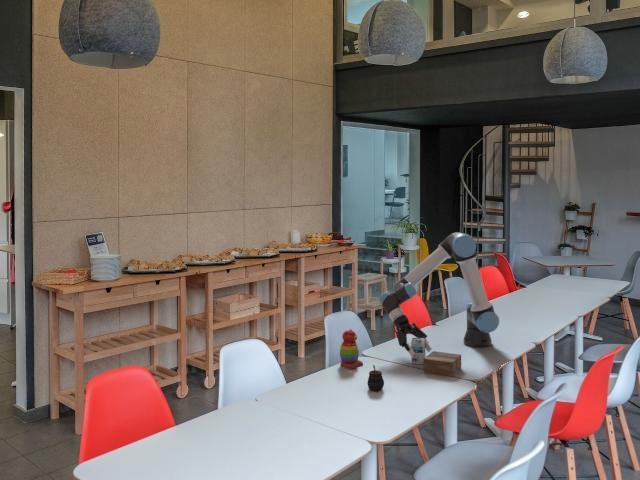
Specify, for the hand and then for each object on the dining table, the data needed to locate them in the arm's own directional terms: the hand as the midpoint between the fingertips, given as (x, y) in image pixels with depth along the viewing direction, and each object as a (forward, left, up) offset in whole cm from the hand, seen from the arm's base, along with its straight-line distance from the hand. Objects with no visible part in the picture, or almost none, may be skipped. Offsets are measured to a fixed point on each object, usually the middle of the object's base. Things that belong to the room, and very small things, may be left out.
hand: (422, 353), depth 305 cm
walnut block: (+9, +14, -5) cm, 17 cm away
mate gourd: (+47, -5, -5) cm, 47 cm away
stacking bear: (+20, -30, -5) cm, 37 cm away
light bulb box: (-1, -2, -5) cm, 5 cm away
